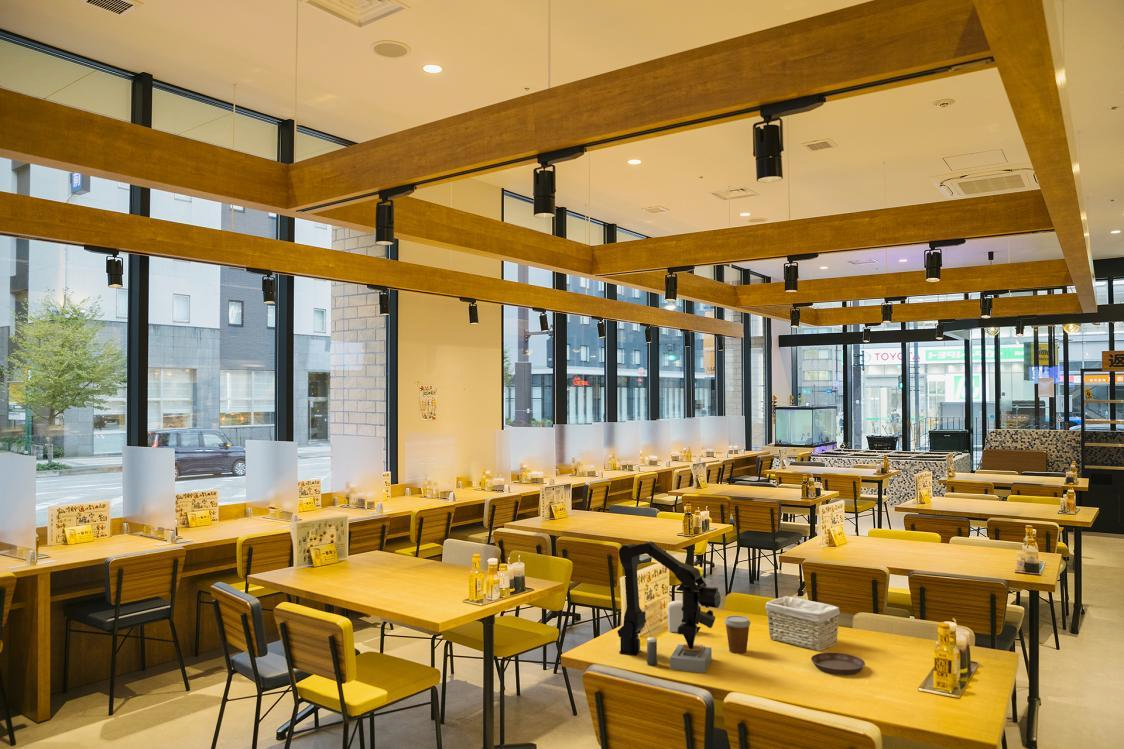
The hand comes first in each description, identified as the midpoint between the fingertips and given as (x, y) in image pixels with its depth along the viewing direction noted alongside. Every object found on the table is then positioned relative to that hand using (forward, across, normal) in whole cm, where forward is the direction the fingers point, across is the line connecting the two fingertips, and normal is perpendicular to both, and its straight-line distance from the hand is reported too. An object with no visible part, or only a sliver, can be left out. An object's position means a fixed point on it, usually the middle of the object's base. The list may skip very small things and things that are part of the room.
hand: (691, 648), depth 267 cm
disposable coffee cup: (+5, +20, -14) cm, 25 cm away
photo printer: (+5, +38, +11) cm, 40 cm away
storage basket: (+5, +40, -37) cm, 54 cm away
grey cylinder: (+5, -6, +13) cm, 15 cm away
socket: (+5, 0, 0) cm, 5 cm away
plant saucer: (+6, +12, -49) cm, 51 cm away
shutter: (+1, +4, 0) cm, 4 cm away
